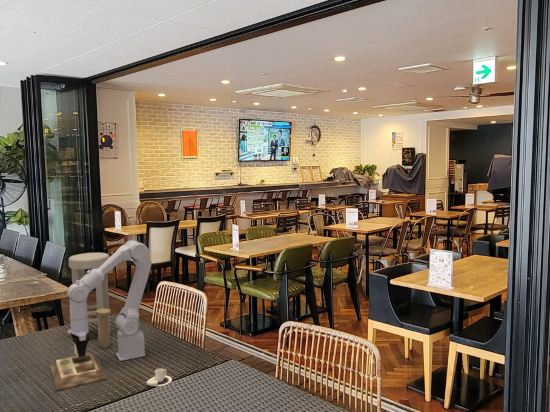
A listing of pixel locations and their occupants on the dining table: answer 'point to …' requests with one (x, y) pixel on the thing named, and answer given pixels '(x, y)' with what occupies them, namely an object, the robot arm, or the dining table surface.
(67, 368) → the socket block
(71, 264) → the stool
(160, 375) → the teacup and saucer
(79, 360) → the peg
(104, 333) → the handle
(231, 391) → the dining table surface
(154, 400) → the dining table surface
